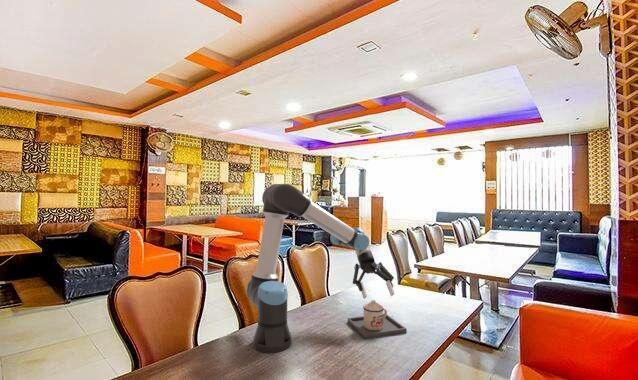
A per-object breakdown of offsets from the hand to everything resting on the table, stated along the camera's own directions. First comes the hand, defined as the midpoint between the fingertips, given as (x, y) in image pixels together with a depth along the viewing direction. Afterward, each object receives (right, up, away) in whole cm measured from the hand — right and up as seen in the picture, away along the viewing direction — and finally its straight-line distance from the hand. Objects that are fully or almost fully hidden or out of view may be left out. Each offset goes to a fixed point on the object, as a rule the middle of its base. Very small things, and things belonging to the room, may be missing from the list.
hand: (379, 296), depth 140 cm
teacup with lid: (-1, -14, +1) cm, 14 cm away
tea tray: (-1, -15, +2) cm, 15 cm away
